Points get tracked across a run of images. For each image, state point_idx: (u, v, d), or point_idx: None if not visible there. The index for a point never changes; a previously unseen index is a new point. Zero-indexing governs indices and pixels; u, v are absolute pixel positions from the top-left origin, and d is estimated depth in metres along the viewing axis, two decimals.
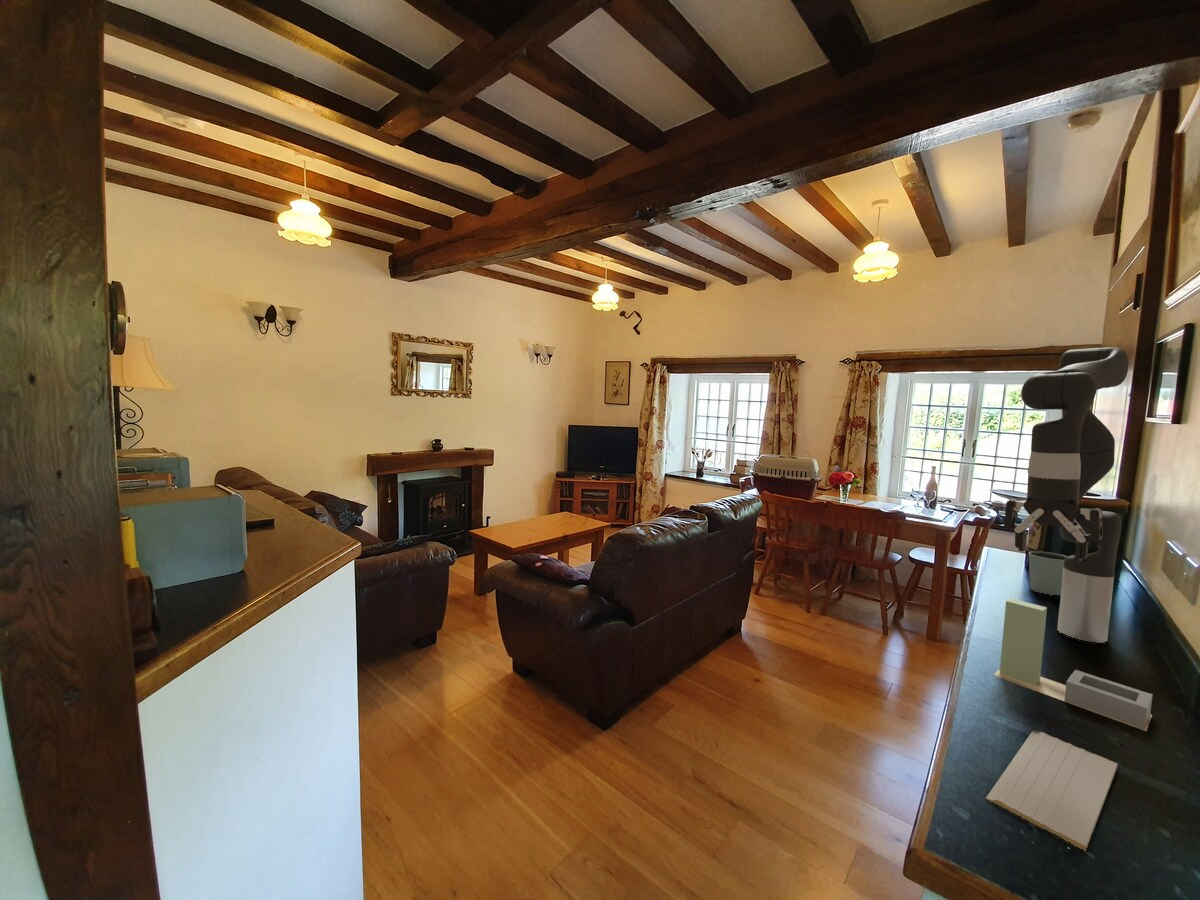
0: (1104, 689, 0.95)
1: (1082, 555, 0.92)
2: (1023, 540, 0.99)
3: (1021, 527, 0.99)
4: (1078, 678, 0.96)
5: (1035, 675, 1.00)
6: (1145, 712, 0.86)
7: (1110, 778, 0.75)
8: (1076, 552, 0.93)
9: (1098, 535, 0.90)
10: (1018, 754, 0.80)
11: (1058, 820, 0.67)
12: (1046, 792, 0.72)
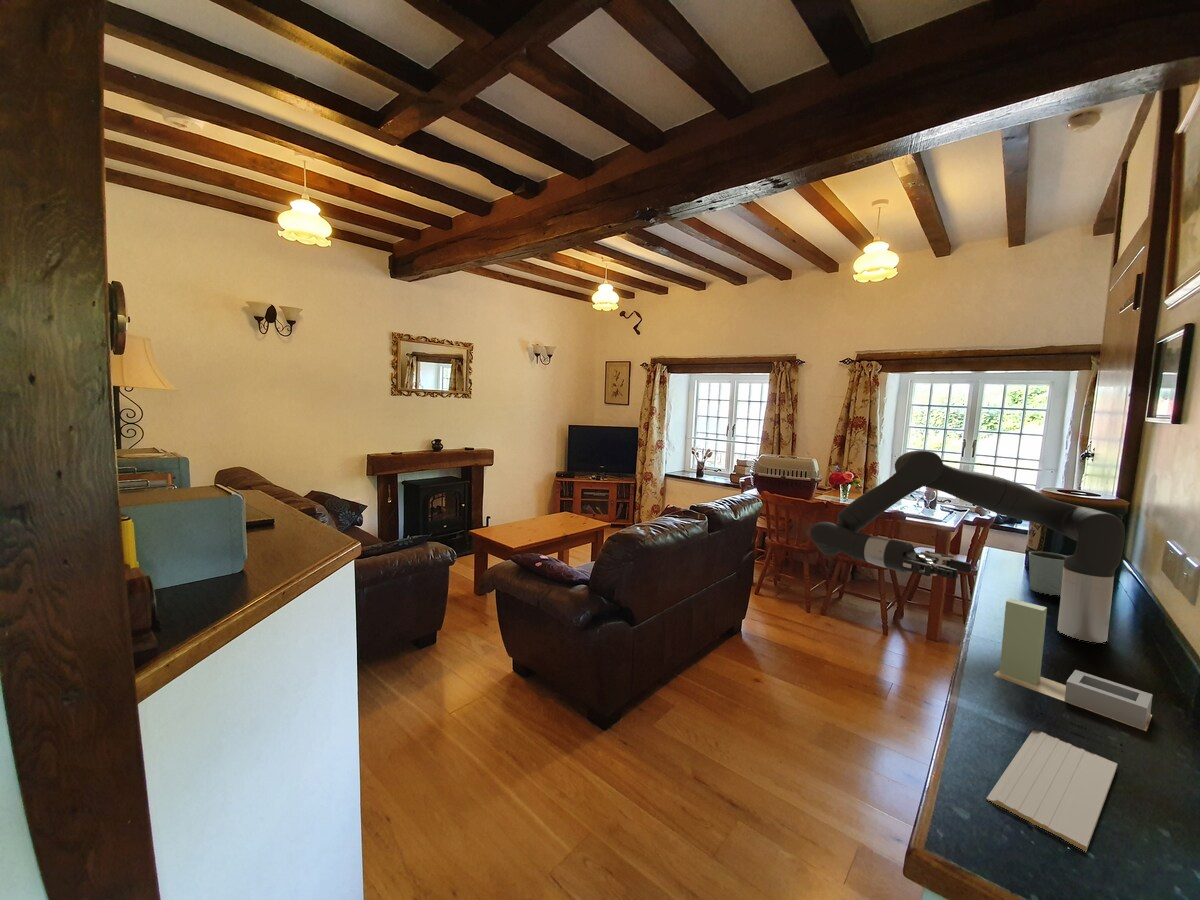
0: (1104, 689, 0.95)
1: None
2: (958, 568, 1.15)
3: None
4: (1078, 678, 0.96)
5: (1035, 675, 1.00)
6: (1145, 712, 0.86)
7: (1110, 778, 0.75)
8: None
9: (923, 574, 1.11)
10: (1018, 754, 0.80)
11: (1059, 820, 0.67)
12: (1046, 792, 0.72)
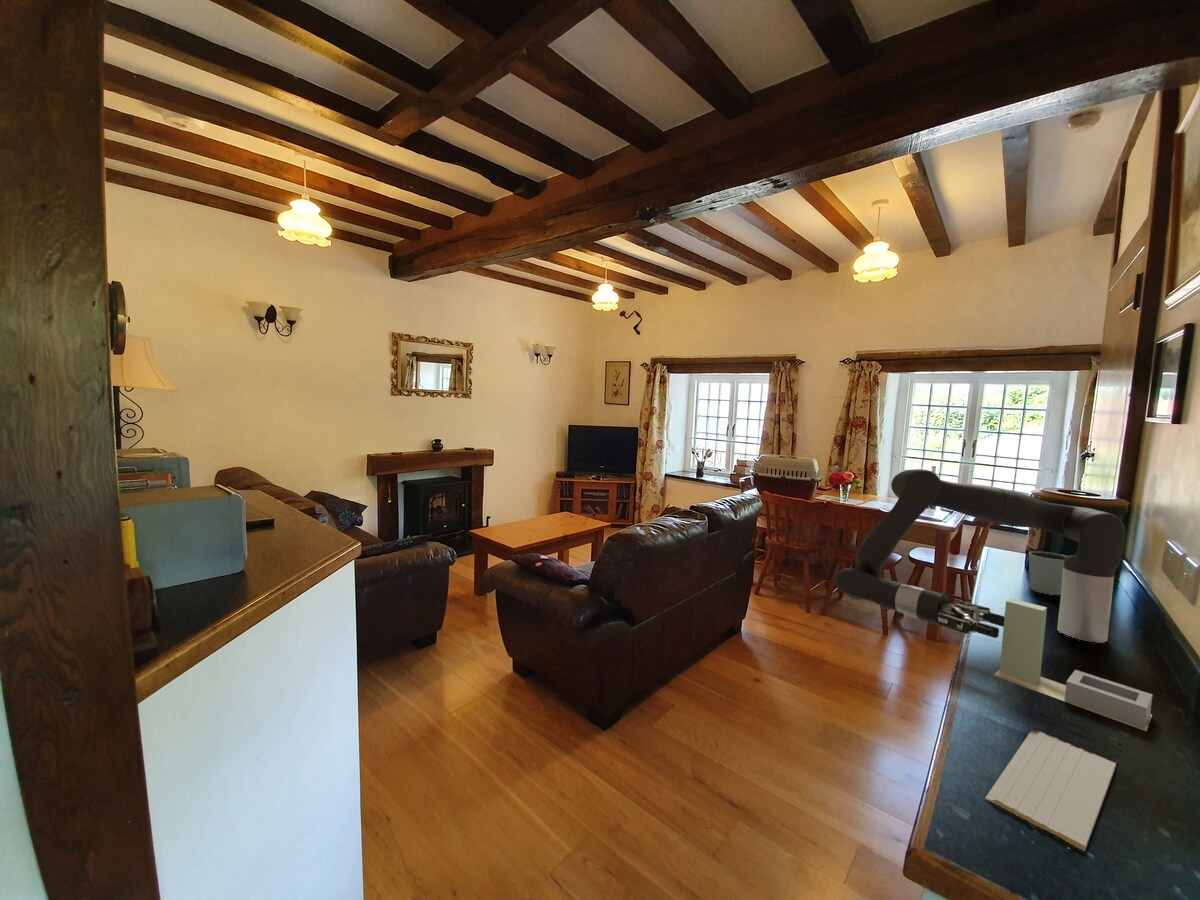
0: (1104, 689, 0.95)
1: None
2: (997, 623, 1.09)
3: None
4: (1078, 678, 0.96)
5: (1035, 675, 1.00)
6: (1145, 712, 0.86)
7: (1109, 778, 0.75)
8: None
9: (961, 631, 1.06)
10: (1017, 754, 0.80)
11: (1057, 820, 0.67)
12: (1045, 791, 0.72)
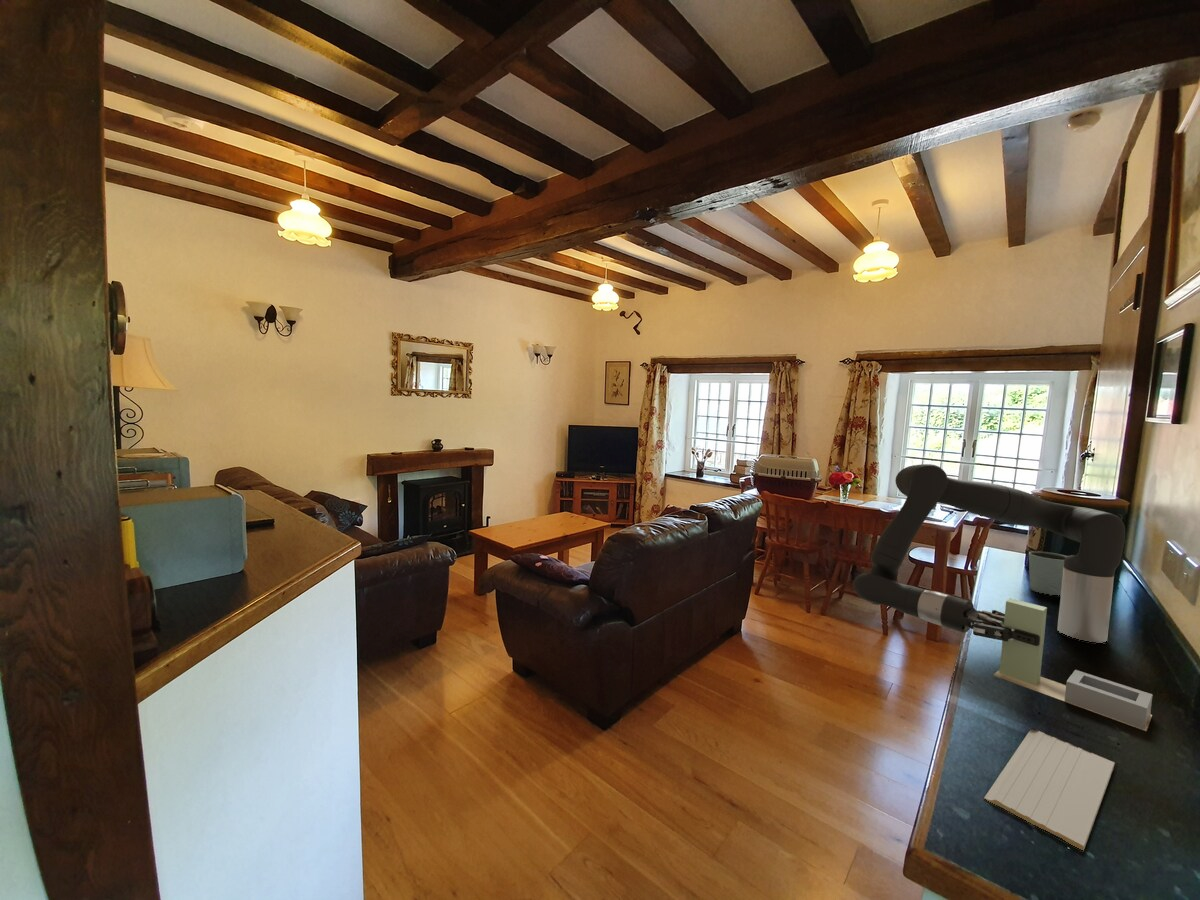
0: (1104, 689, 0.95)
1: None
2: None
3: None
4: (1078, 678, 0.96)
5: (1035, 675, 1.00)
6: (1145, 712, 0.86)
7: (1107, 777, 0.75)
8: None
9: None
10: (1016, 754, 0.81)
11: (1056, 820, 0.67)
12: (1044, 791, 0.72)
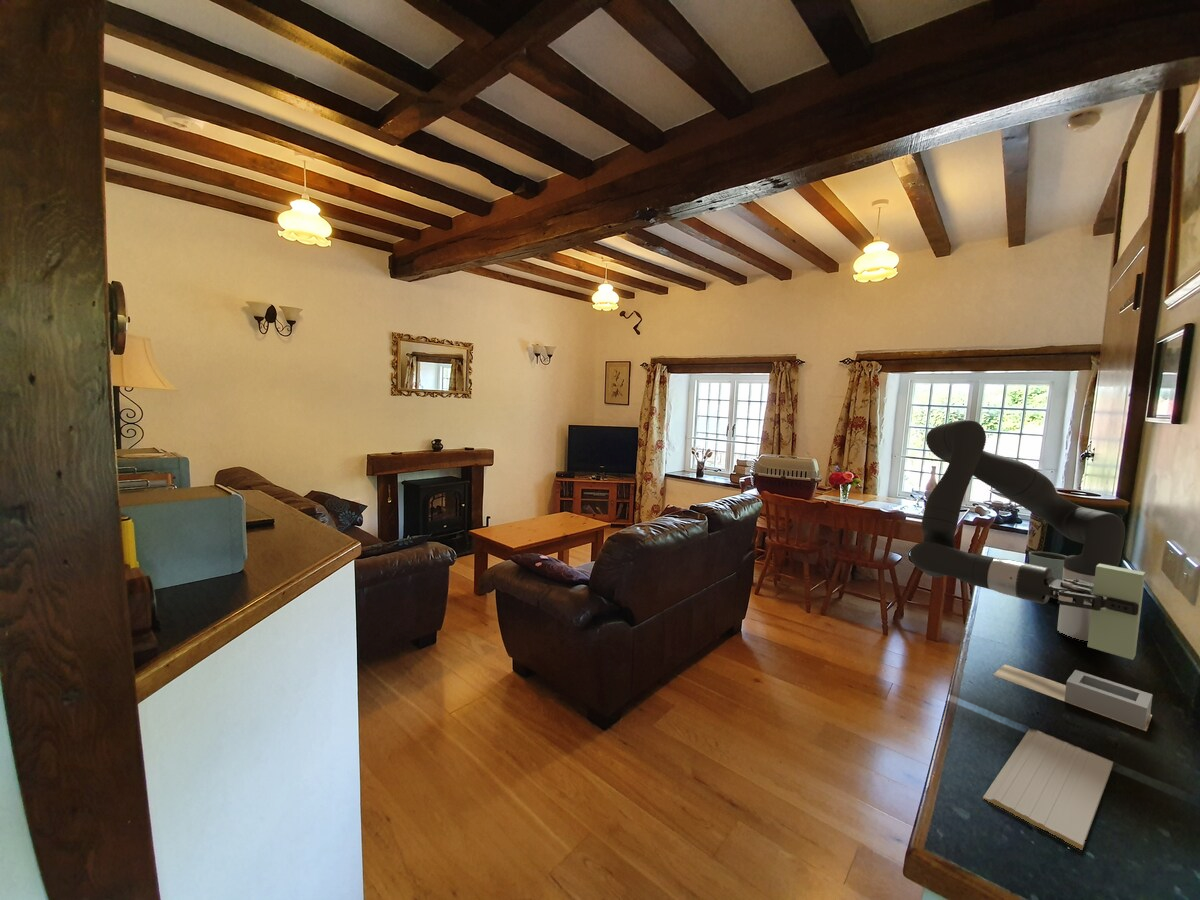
0: (1104, 689, 0.95)
1: None
2: None
3: None
4: (1078, 678, 0.96)
5: (1132, 648, 0.89)
6: (1145, 712, 0.86)
7: (1106, 777, 0.75)
8: (1123, 612, 0.89)
9: (1090, 608, 0.91)
10: (1014, 753, 0.81)
11: (1055, 819, 0.67)
12: (1042, 791, 0.72)
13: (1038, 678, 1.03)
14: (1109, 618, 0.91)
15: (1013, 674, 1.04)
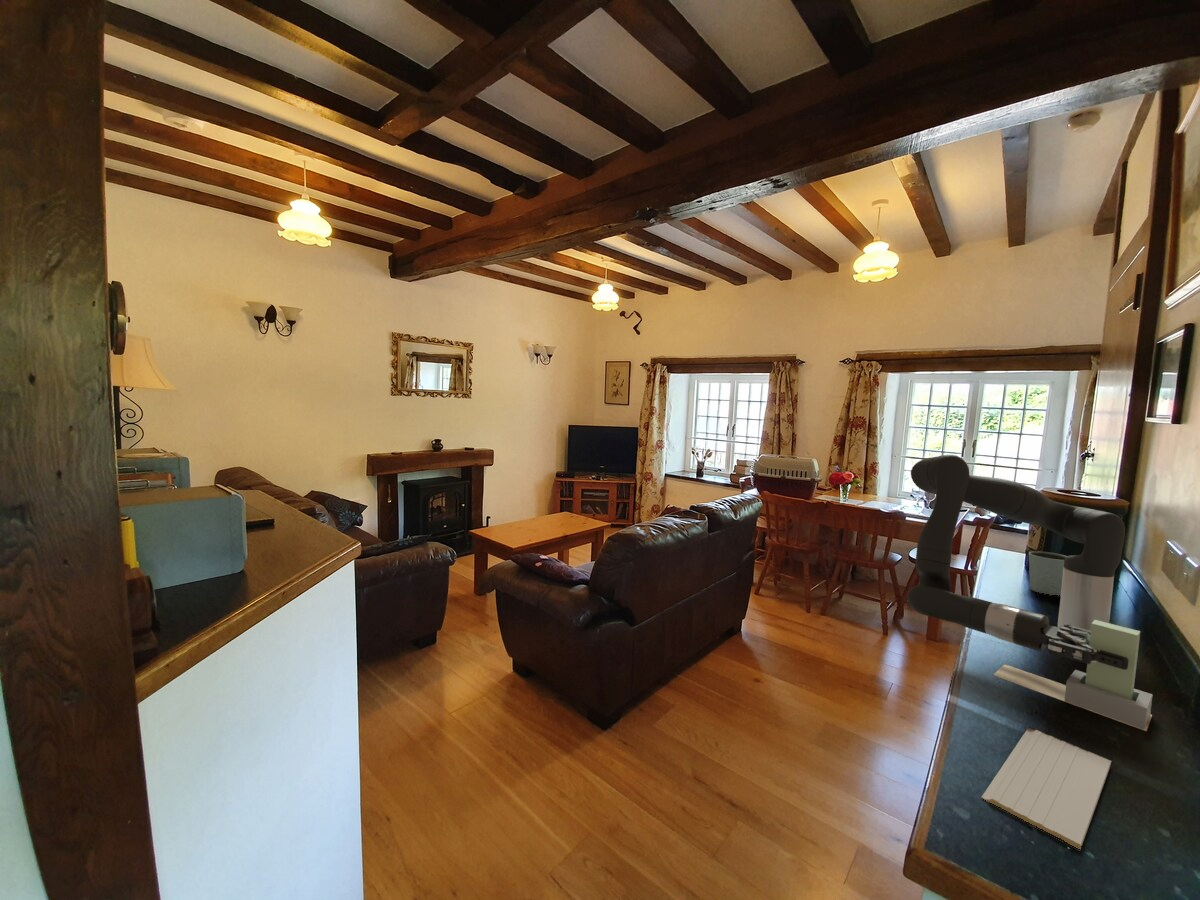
0: None
1: None
2: None
3: None
4: (1078, 678, 0.96)
5: None
6: (1145, 712, 0.86)
7: (1104, 776, 0.75)
8: None
9: (1081, 661, 0.91)
10: (1013, 753, 0.81)
11: (1053, 819, 0.67)
12: (1041, 790, 0.72)
13: (1038, 678, 1.03)
14: (1105, 676, 0.92)
15: (1013, 674, 1.04)
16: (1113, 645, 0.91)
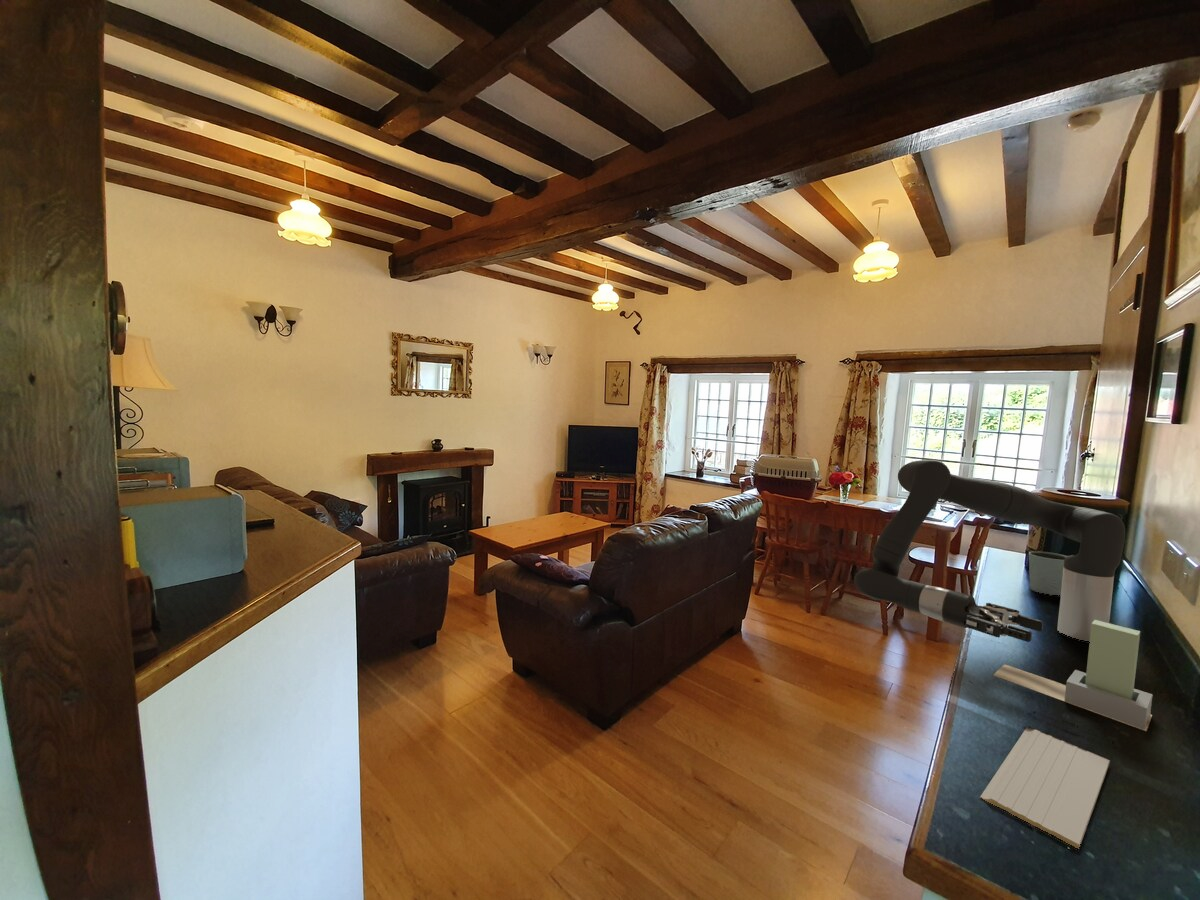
0: None
1: None
2: (1027, 626, 1.05)
3: None
4: (1078, 678, 0.96)
5: None
6: (1145, 712, 0.86)
7: (1102, 776, 0.75)
8: None
9: (992, 635, 1.01)
10: (1011, 752, 0.81)
11: (1051, 818, 0.67)
12: (1039, 790, 0.72)
13: (1038, 678, 1.03)
14: (1105, 676, 0.92)
15: (1013, 674, 1.04)
16: (1113, 645, 0.91)
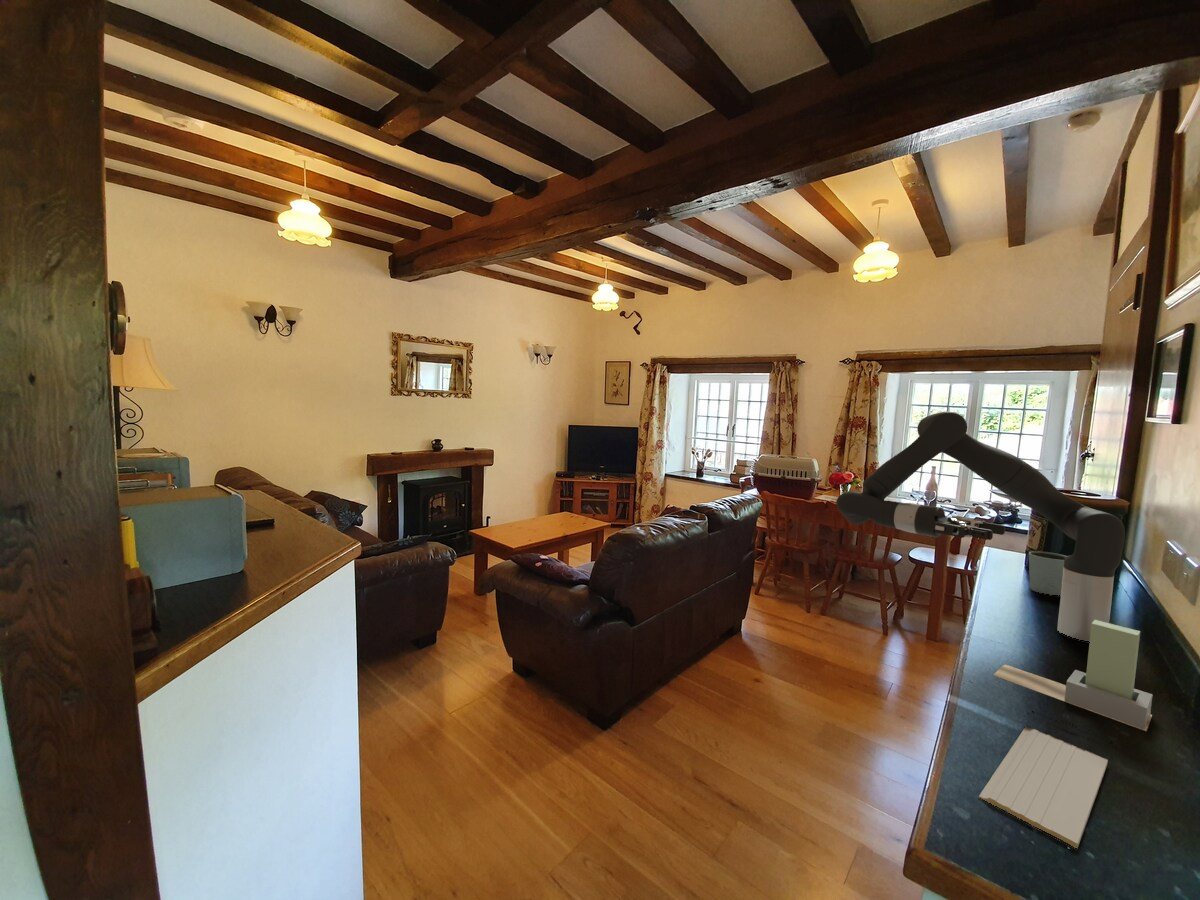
0: None
1: (984, 537, 1.08)
2: None
3: None
4: (1078, 678, 0.96)
5: None
6: (1145, 712, 0.86)
7: (1100, 775, 0.75)
8: None
9: (957, 536, 1.11)
10: (1010, 752, 0.81)
11: (1050, 818, 0.67)
12: (1038, 789, 0.72)
13: (1038, 678, 1.03)
14: (1105, 676, 0.92)
15: (1013, 674, 1.04)
16: (1113, 645, 0.91)
